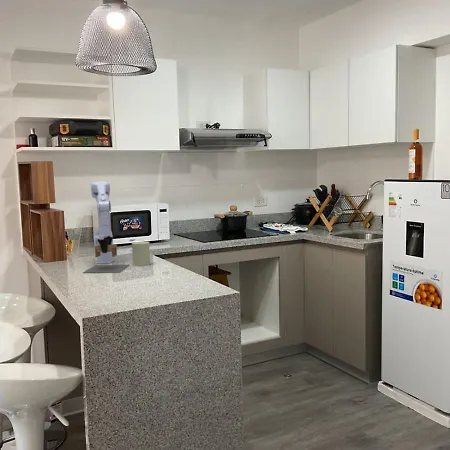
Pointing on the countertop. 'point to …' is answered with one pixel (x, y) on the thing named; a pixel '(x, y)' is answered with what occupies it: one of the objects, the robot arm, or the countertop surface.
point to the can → (141, 253)
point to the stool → (110, 248)
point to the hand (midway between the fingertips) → (106, 252)
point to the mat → (106, 269)
